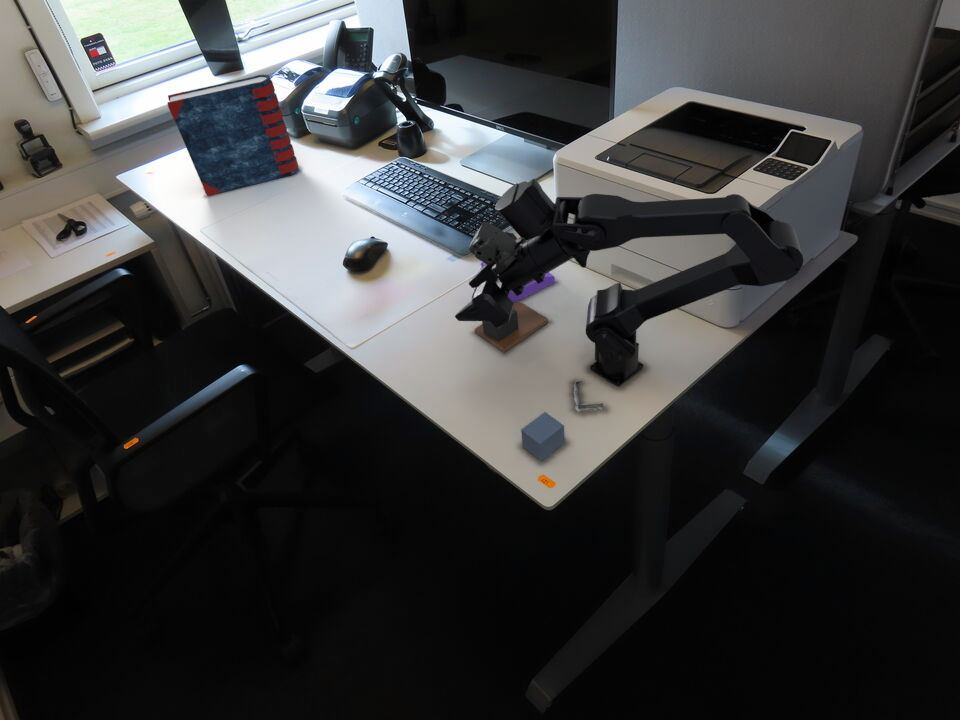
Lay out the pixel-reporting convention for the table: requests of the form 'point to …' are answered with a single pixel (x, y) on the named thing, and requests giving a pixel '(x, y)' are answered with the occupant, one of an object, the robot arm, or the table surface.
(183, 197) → the table surface
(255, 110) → the book
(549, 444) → the blue-grey block
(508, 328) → the dark grey cube
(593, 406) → the bent metal strip
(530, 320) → the brown wooden board
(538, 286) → the bracket
